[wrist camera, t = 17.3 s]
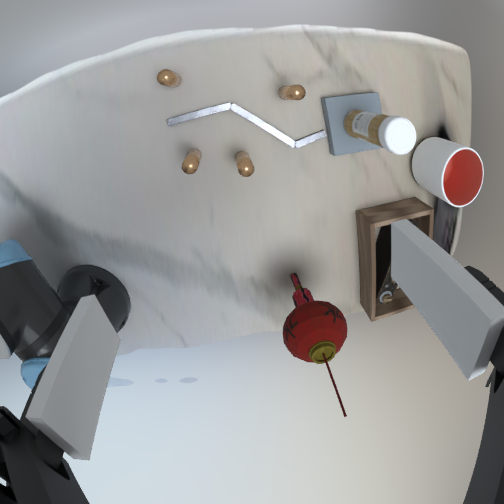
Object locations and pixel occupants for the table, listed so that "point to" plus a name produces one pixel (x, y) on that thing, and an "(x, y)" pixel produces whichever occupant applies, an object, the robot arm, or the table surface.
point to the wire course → (242, 157)
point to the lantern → (314, 329)
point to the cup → (448, 170)
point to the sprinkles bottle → (381, 130)
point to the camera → (385, 265)
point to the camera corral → (367, 250)
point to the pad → (335, 117)
